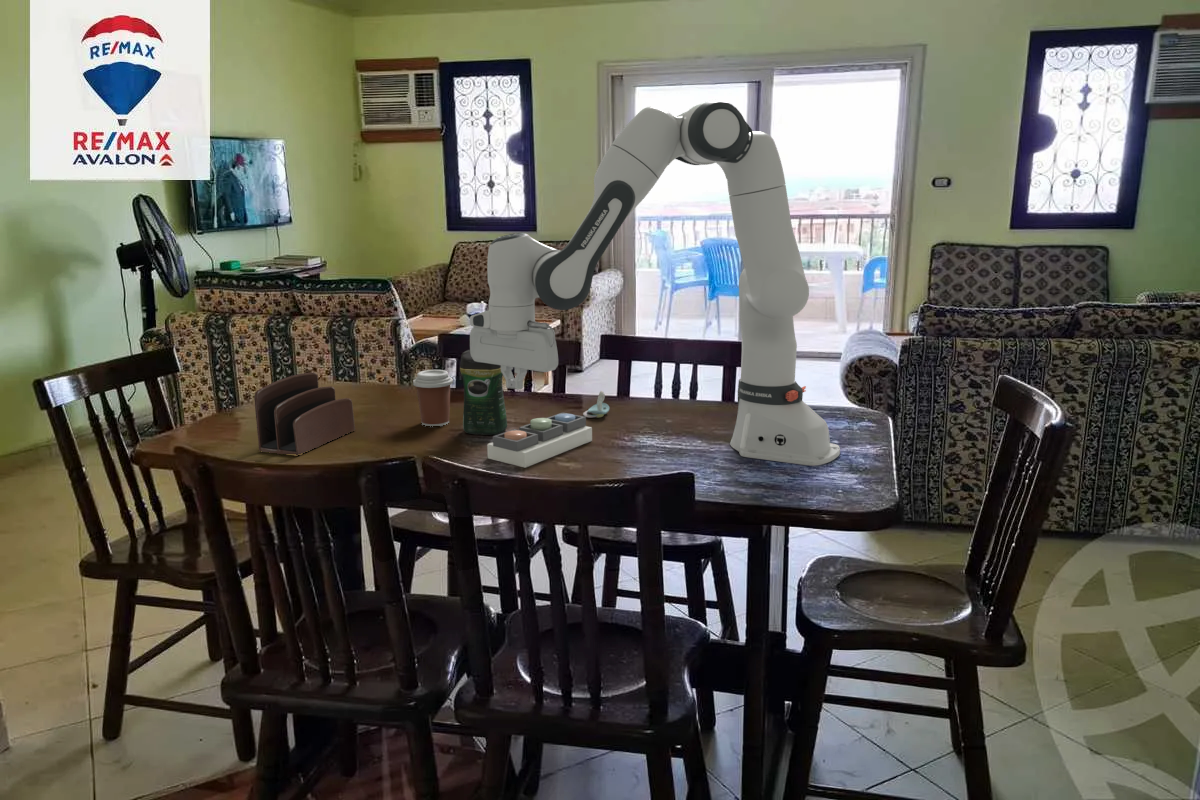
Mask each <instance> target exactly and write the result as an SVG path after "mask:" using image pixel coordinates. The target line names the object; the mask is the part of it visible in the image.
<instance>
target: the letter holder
mask: <svg viewBox="0 0 1200 800" xmlns="http://www.w3.org/2000/svg"><path fill="white" fill-rule="evenodd" d="M253 397H254V411H255V420H256V431H257V440H258V441H257V442H258V451H262V452H270V453H269V454H271V453H277V454H276V455H279V454H296V455H298V454H301V453H304V452H306V451H309V450H312V449H314V448H316V449H318V448H320V447H319V446H321V445H323V444H325V443H327V442H329V443H331V442H330V441H332V440H334V439H336V440H338V439H340V438H342V437H341V436H343V435H345V434H347V433H349V434H351V433H350V432H352V431H354V430H355V431H356V425H355V417H354V405H353V401H352V399H351V398H349V397H348V398H347V397H345V398H339V399H337V398H336V389H335V387H334V386H321V387H319V376H318V374H317V373H316V372H303V373H298V374H297V373H296V374H295V375H290V376H287V377H284V378H281V379H279V380H276V381H274V382H271V383H269V384H267V385H265V386H263V387H261V388H259V389H258V390H257V391H256V392H255V393H254V396H253ZM355 431H354V432H355ZM352 433H353V432H352ZM347 435H348V434H347ZM345 436H346V435H345ZM339 437H340V438H339ZM343 437H344V436H343ZM337 438H338V439H337ZM334 441H335V440H334ZM332 442H333V441H332ZM327 444H328V443H327ZM325 445H326V444H325ZM323 446H324V445H323ZM317 447H318V448H317ZM321 447H322V446H321ZM314 450H315V449H314ZM312 451H313V450H312ZM262 452H261V453H262ZM309 452H310V451H309Z"/></svg>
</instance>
